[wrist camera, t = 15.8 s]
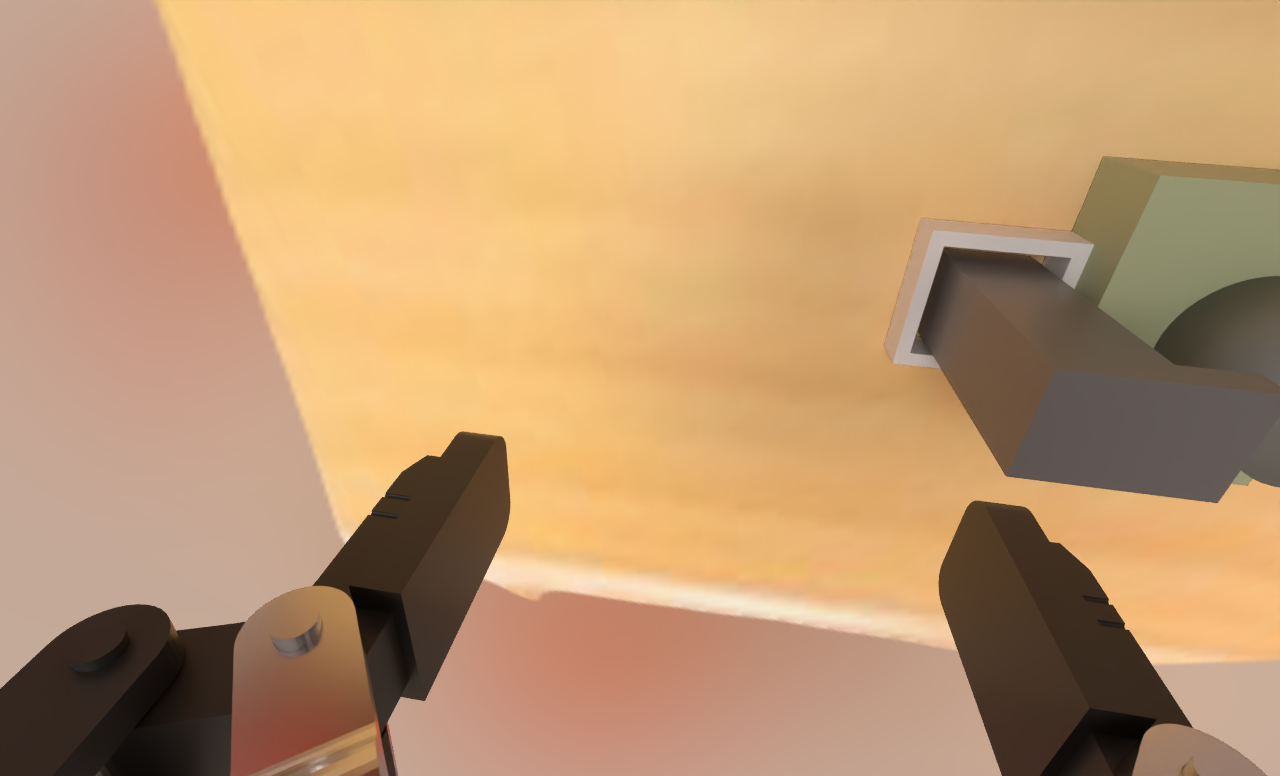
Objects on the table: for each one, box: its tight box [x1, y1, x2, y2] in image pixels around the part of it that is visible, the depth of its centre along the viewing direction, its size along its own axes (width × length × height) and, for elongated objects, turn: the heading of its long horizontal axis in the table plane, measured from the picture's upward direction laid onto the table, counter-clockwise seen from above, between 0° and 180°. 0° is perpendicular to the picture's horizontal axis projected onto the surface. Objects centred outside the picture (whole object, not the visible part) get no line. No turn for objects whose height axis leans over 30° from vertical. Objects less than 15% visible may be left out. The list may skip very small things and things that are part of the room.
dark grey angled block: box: [918, 248, 1280, 503], centre depth 29 cm, size 8×5×15 cm, turn 86°
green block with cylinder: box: [884, 157, 1280, 487], centre depth 30 cm, size 20×16×11 cm
